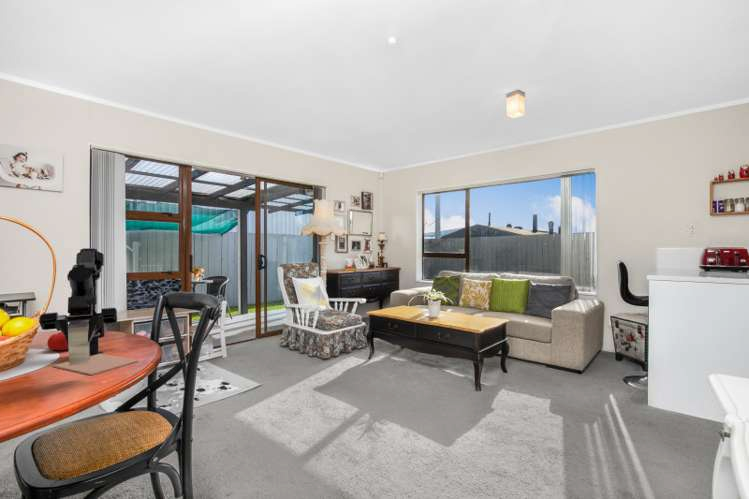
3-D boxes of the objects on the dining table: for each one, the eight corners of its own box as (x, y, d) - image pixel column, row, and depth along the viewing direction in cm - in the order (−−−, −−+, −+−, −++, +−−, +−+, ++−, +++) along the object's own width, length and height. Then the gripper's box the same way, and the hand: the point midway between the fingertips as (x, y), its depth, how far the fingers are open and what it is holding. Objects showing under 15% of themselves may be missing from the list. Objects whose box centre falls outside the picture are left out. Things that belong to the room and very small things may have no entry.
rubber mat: (52, 366, 123) (52, 365, 123) (100, 354, 137) (100, 353, 137) (91, 375, 115) (91, 374, 115) (138, 361, 129) (138, 360, 129)
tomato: (54, 347, 147) (54, 331, 147) (87, 344, 150) (87, 329, 150) (42, 353, 137) (42, 336, 137) (77, 351, 141) (77, 334, 141)
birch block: (71, 360, 112) (70, 321, 111) (89, 358, 115) (88, 319, 113) (69, 366, 108) (67, 325, 107) (88, 363, 111) (87, 323, 110)
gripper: (38, 287, 108) (31, 334, 99) (115, 283, 118) (114, 325, 110) (45, 307, 115) (39, 352, 107) (117, 301, 125) (116, 342, 117)
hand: (78, 342), depth 110 cm, fingers closed on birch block, 4 cm apart
